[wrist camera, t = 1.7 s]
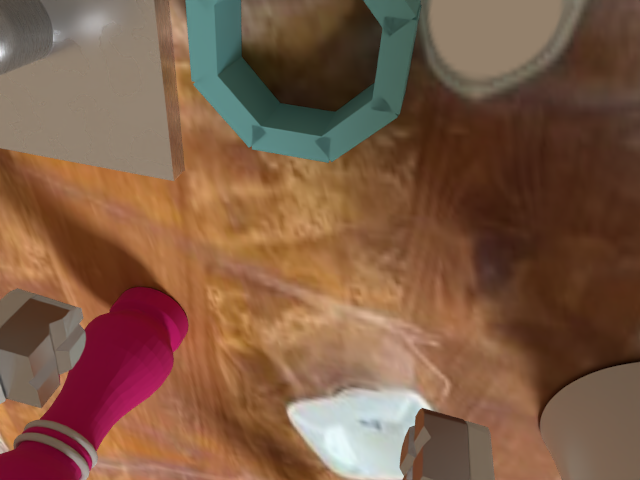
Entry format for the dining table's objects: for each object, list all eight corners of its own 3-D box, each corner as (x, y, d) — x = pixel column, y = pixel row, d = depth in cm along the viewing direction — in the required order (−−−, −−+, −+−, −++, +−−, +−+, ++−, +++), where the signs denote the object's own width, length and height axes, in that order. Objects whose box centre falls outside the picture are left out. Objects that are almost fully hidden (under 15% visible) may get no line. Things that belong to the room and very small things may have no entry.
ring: (435, -73, 22) (432, -68, 19) (395, 145, 28) (389, 173, 25) (211, -97, 23) (178, -96, 21) (220, 116, 30) (196, 139, 27)
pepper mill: (108, 272, 40) (-124, 526, 24) (192, 292, 39) (9, 568, 23) (121, 334, 44) (-68, 584, 28) (197, 352, 43) (46, 622, 27)
